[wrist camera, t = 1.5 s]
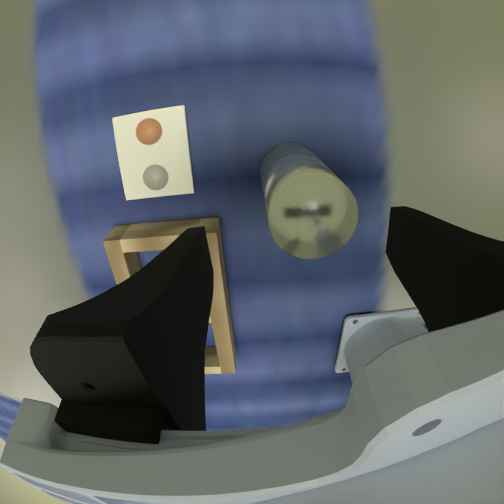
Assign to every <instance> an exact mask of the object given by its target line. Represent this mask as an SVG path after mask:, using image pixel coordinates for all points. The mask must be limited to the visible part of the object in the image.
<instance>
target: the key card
mask: <svg viewBox="0 0 504 504" xmlns="http://www.w3.org/2000/svg"><path fill="white" fill-rule="evenodd" d="M112 120H113V127H114V134H115V141H116V147H117V153H118V159H119V165H120V171H121V176H122V181H123V187H124V192H125V196H126V200H133V199H142V198H151V197H160V196H169V195H180V194H190V193H194V192H195V191H194V183H193V175H192V166H191V158H190V149H189V140H188V131H187V121H186V111H185V105H181V106H174V107H167V108H161V109H155V110H149V111H143V112H138V113H133V114H128V115H123V116H118V117H114V118H112Z"/></svg>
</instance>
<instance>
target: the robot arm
mask: <svg viewBox="0 0 504 504" xmlns="http://www.w3.org/2000/svg"><path fill="white" fill-rule="evenodd" d="M386 254H387V256H388V259H389V261H390V263H391V265H392V267H393V270H394V271H395V273H396V275H397V277H398V278H399V280H400V281H401V283H402V285H403V286H404V288H405V289H406V291H407V292H408V294H409V296H410V297H411V299H412V301H413V302H414V304H415V305H416V307H413V308H406V309H399V310H393V311H385V312H377V313H369V314H361V315H352V316H348V317H346V318H345V319H344V323H343V329H342V334H341V339H340V345H339V350H338V355H337V359H336V364H335V372H336V373H342V372H349V374H350V377H351V381H352V384H353V385H352V387H351V390H350V394H349V398H348V402H347V405H346V406H345V407H344V408H341V409H338V410H335V411H332V412H329V413H326V414H323V415H320V416H317V417H314V418H310V419H307V420H304V421H300V422H297V423H293V424H290V425H285V426H277V427H266V428H255V429H240V430H217V431H206V422H205V346H206V338H207V331H208V325H209V318H210V312H211V306H212V299H213V289H214V270H213V266H212V261H211V256H210V251H209V246H208V241H207V236H206V231H205V226H200V227H192V228H188V229H186V230H185V231H184V232H183V233H182V234H180V235H179V236H178V237H177V238H176V239H175V240H174V241H173V242H172V243H171V244H170V245H169V246H168V247H167V248H165V249H164V250H163V251H162V252H161V253H160V254H159V255H157V256H156V257H155V258H154V259H153V260H152V261H150V262H149V263H148V264H147V265H146V266H144V267H143V268H142V269H140V270H139V271H138V272H136V273H135V274H133V275H132V276H130V277H129V278H128V279H126V280H124V281H123V282H121V283H119V284H118V285H116V286H114V287H112V288H111V289H109V290H107V291H106V292H104V293H102V294H100V295H98V296H96V297H94V298H92V299H89V300H87V301H85V302H83V303H80V304H78V305H76V306H73V307H71V308H68V309H65V310H62V311H59V312H56V313H54V314H51V315H48V316H47V318H46V319H45V321H44V323H43V325H42V326H41V328H40V330H39V332H38V333H37V335H36V337H35V339H34V341H33V343H32V345H31V347H30V354H31V357H32V360H33V363H34V365H35V367H36V368H37V370H38V371H39V373H40V374H41V375H42V376H43V378H44V379H45V380H46V381H47V382H48V384H49V385H50V386H51V387H52V388H53V390H54V391H55V392H56V393H57V394H58V395H59V397H60V398H61V399H62V400H61V403H60V406H59V408H57V407H56V406H54V405H52V404H50V403H46V402H42V401H37V400H32V399H27V398H24V399H23V400H22V403H21V405H20V408H19V410H18V412H17V415H16V417H15V420H14V423H13V425H12V428H11V431H10V433H9V436H8V439H7V442H6V445H5V448H4V450H3V454H2V457H1V460H0V465H1V466H2V467H4V468H5V469H6V470H8V471H9V472H11V473H12V474H14V475H16V476H17V477H19V478H20V479H22V480H23V481H25V482H26V483H28V484H30V485H32V486H33V487H35V488H37V489H39V490H40V491H42V492H44V493H46V494H47V495H49V496H51V497H54V498H57V499H59V500H62V501H65V502H68V503H71V504H504V242H503V241H499V240H495V239H492V238H488V237H485V236H482V235H479V234H476V233H473V232H470V231H468V230H465V229H462V228H460V227H457V226H455V225H452V224H450V223H448V222H446V221H443V220H441V219H438V218H436V217H434V216H431V215H429V214H426V213H424V212H421V211H418V210H416V209H413V208H409V207H405V206H401V207H391V210H390V220H389V229H388V238H387V246H386ZM354 320H355V321H354Z"/></svg>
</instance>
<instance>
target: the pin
mask: <svg viewBox="0 0 504 504" xmlns="http://www.w3.org/2000/svg"><path fill="white" fill-rule="evenodd" d="M260 177H261V182H262V188H263V194H264V199H265V205H266V211H267V216H268V222H269V228H270V232H271V234H272V237H273V239H274V240H275V242H276V243H277V244H278V246H279V247H280V248H281V249H282V250H284V251H285V252H287V253H288V254H290V255H292V256H295V257H298V258H302V259H318V258H323V257H326V256H329V255H331V254H333V253H335V252H336V251H338V250H339V249H341V248H342V247H343V246H344V245H345V244H346V243H347V242H348V241H349V239H350V238H351V237H352V235H353V233H354V231H355V229H356V226H357V222H358V206H357V202H356V200H355V197H354V195H353V194H352V192H351V191H350V189H349V188H348V187H347V186H346V185H345V184H344V183H343V182H342V181H341V180H340V179H339V178H338V177H337V176H336V175H335V174H334V173H333V172H332V171H331V170H330V169H329V168H328V167H327V166H326V165H325V164H324V163H323V162H322V161H321V160H320V159H319V158H318V157H317V156H316V155H315V154H314V153H313V152H312V151H311V150H309V149H308V148H307V147H305V146H303V145H301V144H298V143H293V142H288V143H282V144H279V145H277V146H275V147H273V148H272V149H270V150H269V151H268V152H267V153H266V155H265V156H264V158H263V160H262V162H261V166H260Z"/></svg>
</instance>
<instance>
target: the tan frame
mask: <svg viewBox="0 0 504 504" xmlns="http://www.w3.org/2000/svg"><path fill="white" fill-rule="evenodd" d="M200 226H205V231H206V236H207V241H208V246H209V251H210V256H211V261H212V266H213V270H214V289H213V299H212V306H211V312H210V318H209V323H211V324H212V329H213V334H214V339H215V344H216V347H205V374H218V373H236V348H235V341H234V334H233V326H232V319H231V311H230V303H229V296H228V288H227V280H226V271H225V263H224V255H223V246H222V237H221V229H220V220H219V217H210V218H197V219H184V220H172V221H160V222H149V223H138V224H128V225H118V226H115V227H114V228H113V230H112V231H111V232H110V233H109V235H108V236H107V237H106V238H105V240H104V241H103V242H104V246H105V249H106V252H107V256H108V259H109V262H110V265H111V268H112V272H113V275H114V278H115V281H116V284H117V285H118V284H119V283H121V282H123V281H124V280H126V279H128V278H129V277H130V276H132V275H133V274H135V273H136V272H138V271H139V270H140V269H142V267H141V263H140V259H139V255H138V252H141V251H156V250H164V249H165V248H167V247H168V246H169V245H170V244H171V243H172V242H173V241H174V240H175V239H176V238H177V237H178V236H179V235H180V234H182V233H183V232H184V231H185V230H186V229H188V228H192V227H200Z"/></svg>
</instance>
